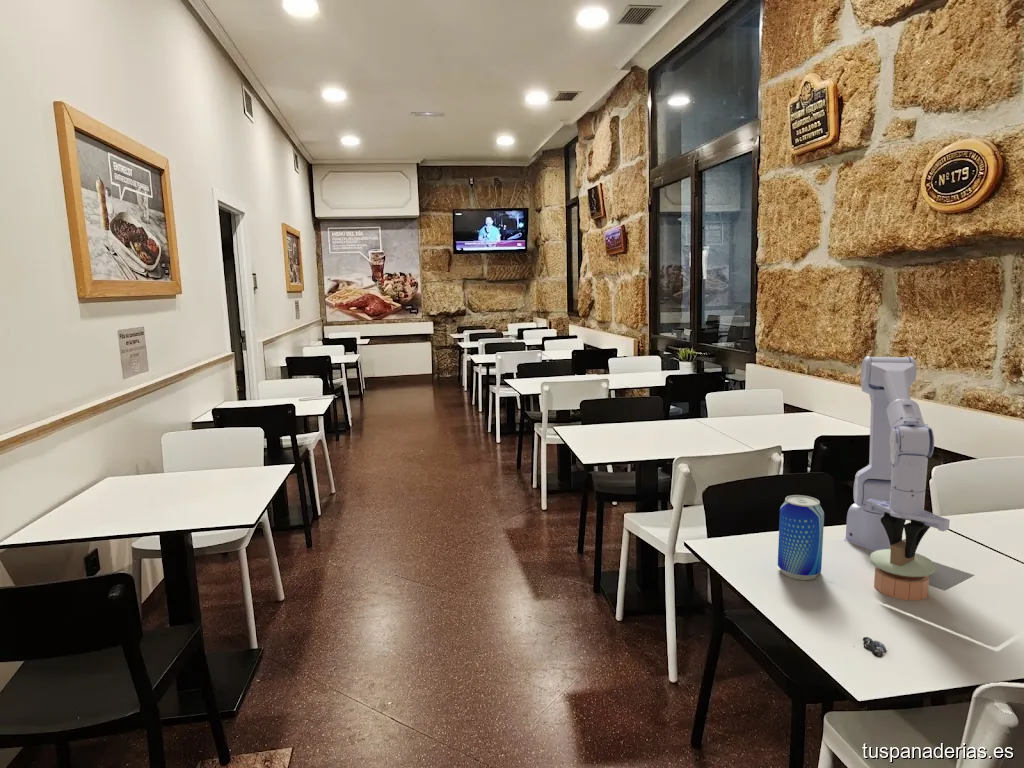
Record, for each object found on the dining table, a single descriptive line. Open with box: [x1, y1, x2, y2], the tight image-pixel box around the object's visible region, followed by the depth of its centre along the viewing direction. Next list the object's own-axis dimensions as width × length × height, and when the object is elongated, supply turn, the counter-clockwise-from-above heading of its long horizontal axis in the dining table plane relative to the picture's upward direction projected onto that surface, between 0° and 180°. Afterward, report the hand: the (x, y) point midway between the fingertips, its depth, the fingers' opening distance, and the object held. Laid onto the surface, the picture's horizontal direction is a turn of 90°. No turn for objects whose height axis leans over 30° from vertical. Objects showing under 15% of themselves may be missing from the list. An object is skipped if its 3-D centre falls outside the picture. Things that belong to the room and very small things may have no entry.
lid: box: [869, 538, 936, 577], centre depth 126 cm, size 11×11×4 cm
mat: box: [929, 561, 975, 591], centre depth 134 cm, size 12×12×1 cm
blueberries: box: [852, 636, 888, 658], centre depth 108 cm, size 7×8×2 cm
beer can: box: [777, 494, 825, 581], centre depth 135 cm, size 8×8×16 cm
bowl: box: [873, 566, 930, 601], centre depth 127 cm, size 9×9×4 cm
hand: (902, 554), depth 126 cm, fingers closed on lid, 2 cm apart
